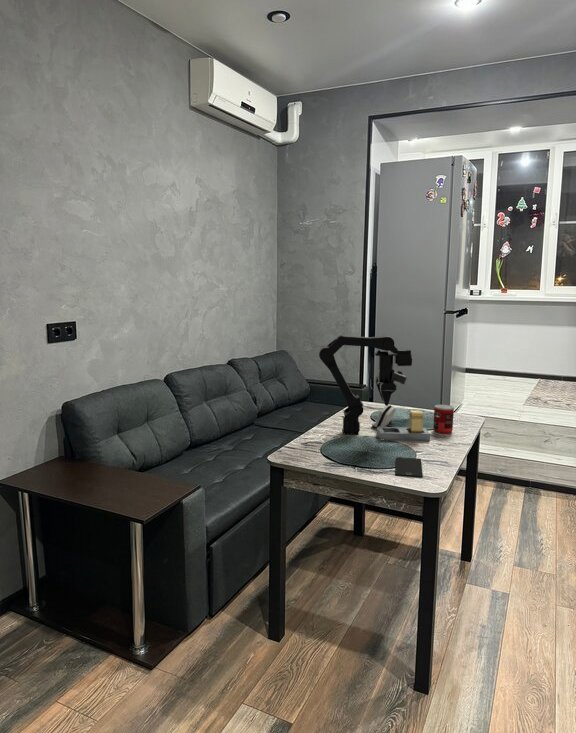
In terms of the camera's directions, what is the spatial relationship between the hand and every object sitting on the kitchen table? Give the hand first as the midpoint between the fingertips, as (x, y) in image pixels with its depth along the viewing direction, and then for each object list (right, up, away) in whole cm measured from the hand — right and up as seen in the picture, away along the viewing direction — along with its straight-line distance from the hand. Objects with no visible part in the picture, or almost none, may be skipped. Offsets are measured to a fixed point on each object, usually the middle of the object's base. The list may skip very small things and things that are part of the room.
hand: (384, 403), depth 224 cm
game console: (+3, -11, +16) cm, 20 cm away
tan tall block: (+12, -14, -4) cm, 19 cm away
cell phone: (+1, -20, -39) cm, 44 cm away
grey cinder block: (+7, -14, -4) cm, 16 cm away
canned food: (+26, -13, +6) cm, 29 cm away
